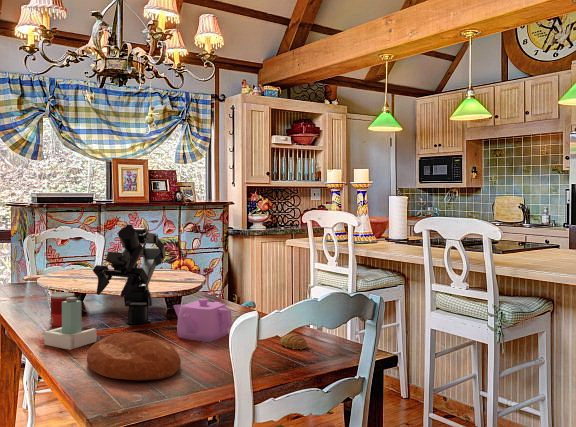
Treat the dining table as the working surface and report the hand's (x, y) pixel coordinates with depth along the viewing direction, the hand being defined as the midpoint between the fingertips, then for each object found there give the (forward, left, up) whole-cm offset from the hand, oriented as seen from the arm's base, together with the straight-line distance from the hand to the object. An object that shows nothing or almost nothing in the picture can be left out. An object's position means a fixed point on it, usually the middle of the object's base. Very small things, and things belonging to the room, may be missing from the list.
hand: (109, 295), depth 173 cm
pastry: (-32, +52, -14) cm, 62 cm away
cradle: (+12, -2, -14) cm, 18 cm away
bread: (+13, +31, -14) cm, 36 cm away
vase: (-3, -36, -14) cm, 39 cm away
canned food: (+3, -24, -14) cm, 28 cm away
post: (+12, -2, -14) cm, 18 cm away
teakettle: (-20, +22, -14) cm, 33 cm away
